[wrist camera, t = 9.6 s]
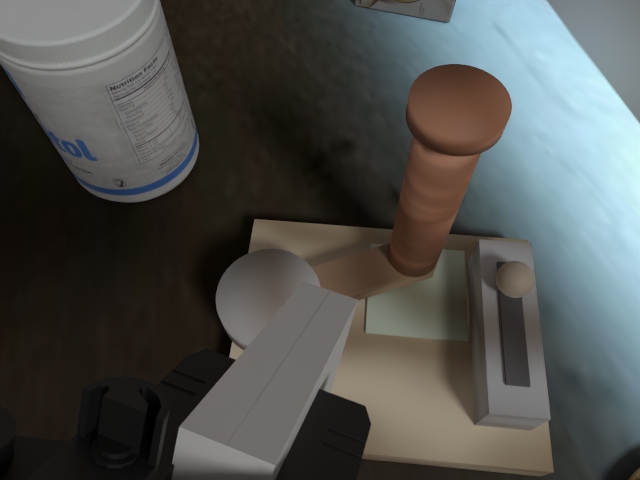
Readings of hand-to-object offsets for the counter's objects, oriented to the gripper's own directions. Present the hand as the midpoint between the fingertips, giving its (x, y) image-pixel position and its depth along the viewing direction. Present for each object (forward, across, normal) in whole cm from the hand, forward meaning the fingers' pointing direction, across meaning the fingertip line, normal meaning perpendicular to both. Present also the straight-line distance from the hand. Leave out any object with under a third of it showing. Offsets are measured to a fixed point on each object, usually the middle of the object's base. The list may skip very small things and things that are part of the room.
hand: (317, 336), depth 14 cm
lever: (+18, +2, +6) cm, 19 cm away
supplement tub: (+24, +20, +4) cm, 32 cm away
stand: (+19, -2, +9) cm, 20 cm away
